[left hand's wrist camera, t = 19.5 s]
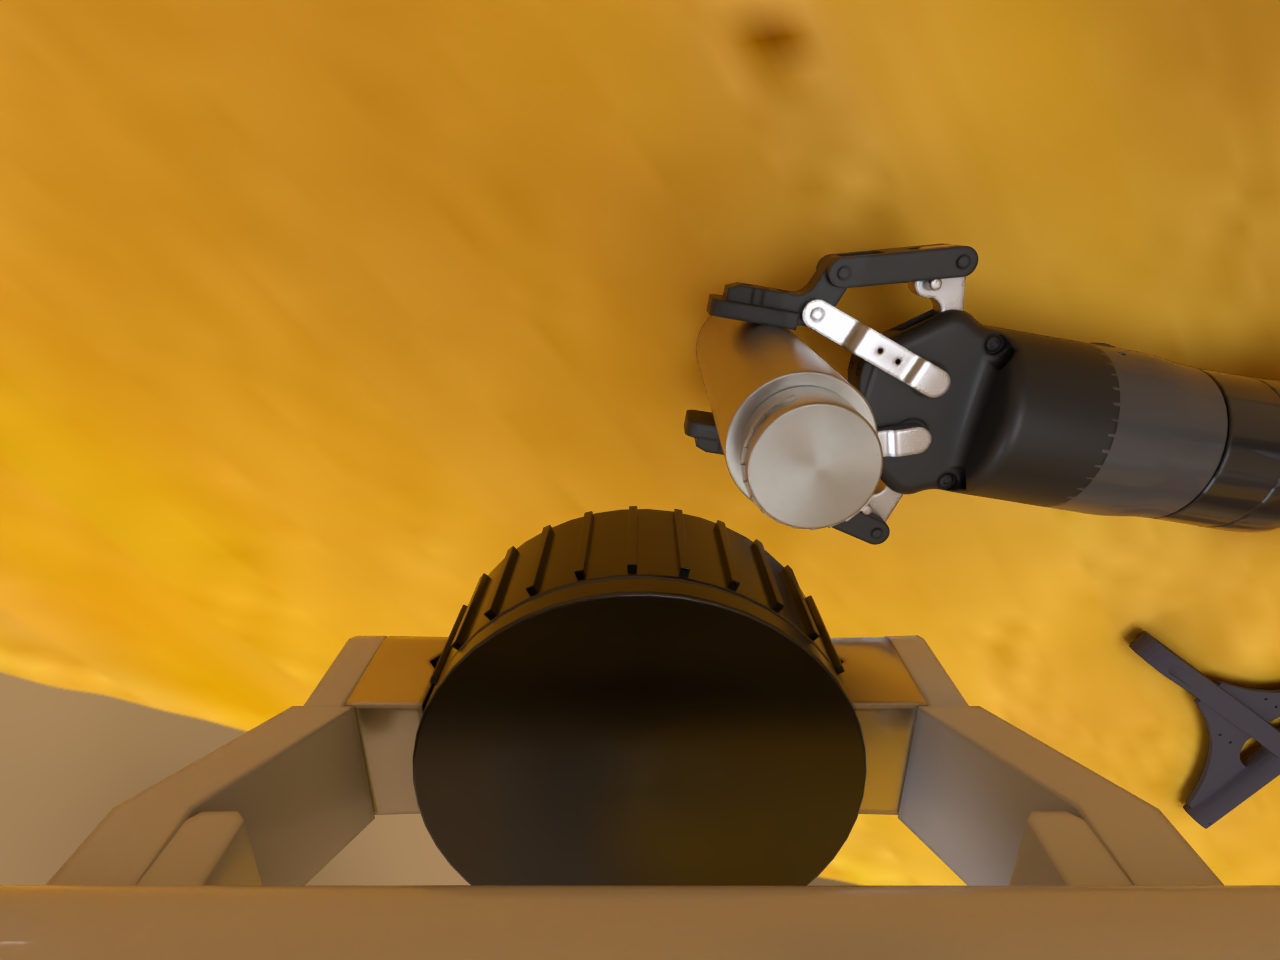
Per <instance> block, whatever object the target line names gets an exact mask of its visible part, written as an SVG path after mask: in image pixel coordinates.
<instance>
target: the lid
mask: <svg viewBox="0 0 1280 960" xmlns="http://www.w3.org/2000/svg"><path fill="white" fill-rule="evenodd" d="M843 672H845V670H844V668H843V665H842V663H841V661H840V659H839V656H838V654H837V652H836V650H835V647H834V645H833V643H832V641H831V638H830V636H829V634H828V631H827V629H826V627H825V625H824V622H823V620H822V618H821V616H820V613H819V611H818V609H817V606H816V604H815V602H814V600H813V598H812V596H808V597H805V595H804V594H803V592H802V590H801V589H800V587H799V585H798V582H797V580H796V578H795V575H794V573H793V571H792V569H791V568H790V567H789V566H788V565H787V566H786V567H783V566H782V565H781V564H780V563H779V562H778V561H776V560H775V559H774V558H773V557H772V556H771V555H770V554H769V553H768V552H767V551H765V550H764V548H763V545H762V543H761V542H760V541H758V540H755V541H754V542H752V541H751V540H749V539H748V538H746V537H744V536H742V535H740V534H738V533H737V532H735V531H733V530H731V529H729V528H727V527H725V523H724V522H721V521H719V520H718V521H717V522H716V523H714V522H711V521H708V520H705V519H703V518H700V517H695V516H691V515H686V514H683V513H682V510H678V509H674V512H672V511H662V510H652V509H637V506H630V507H629V510H616V511H609V512H602V513H596V514H593V512H592V511H591V512H586V513H585V514H584V517H581V518H577V519H573V520H570V521H567V522H565V523H563V524H560V525H558V526H555V527H553V528H552V527H551V526H550V525H548V526H546V527H544V528H543V531H542V533H541V534H539V535H537V536H535V537H534V538H532V539H530V540H528V541H526V542H525V543H524V544H522V545H521V546H520V547H518V548H517V549H516V548H515V547H514V546H513V547H511V548H510V549H509V550H508V551H507V554H506V556H505V558H504V560H503V561H502V562H501V563H500V564H499V565H498V566H497V567H496V568H495V569H494V570H493V571H492V572H491V573H490V574H489V575H486V574H485V573H484V574H483V575H482V576H481V577H480V579H479V581H478V584H477V586H476V588H475V591H474V593H473V595H472V598H471V600H470V603H469V605H468V606H466V605H463V606H462V608H461V610H460V613H459V615H458V617H457V620H456V622H455V624H454V626H453V629H452V631H451V633H450V635H449V638H448V640H447V642H446V644H445V647H444V649H443V651H442V653H441V656H440V658H439V660H438V663H437V665H436V667H435V669H434V672H433V674H432V676H431V678H430V681H429V682H430V683H432V684H435V686H434V688H433V691H432V693H431V695H430V698H429V700H428V702H427V705H426V707H425V709H424V712H423V715H422V718H421V721H420V724H419V727H418V730H417V733H416V738H415V745H414V751H413V783H414V789H415V794H416V799H417V804H418V807H419V810H420V813H421V816H422V818H423V821H424V824H425V826H426V828H427V830H428V832H429V834H430V835H431V837H432V839H433V841H434V843H435V845H436V846H437V848H438V849H439V850H440V852H441V853H442V854H443V856H444V857H445V858H446V860H447V861H448V862H449V864H450V865H451V866H452V867H453V868H454V869H455V870H456V871H457V872H458V873H459V874H460V875H461V876H462V877H463V878H464V879H465V880H466V881H467V882H468V883H469V884H470V885H604V886H807V885H808V884H809V883H811V882H812V881H813V880H814V879H815V878H816V877H818V876H819V874H820V873H821V872H822V871H823V870H824V869H825V868H826V867H827V865H828V864H829V863H830V862H831V861H832V860H833V859H834V857H835V856H836V855H837V853H838V852H839V850H840V849H841V847H842V846H843V844H844V843H845V841H846V840H847V838H848V836H849V834H850V832H851V830H852V827H853V825H854V823H855V821H856V819H857V816H858V813H859V810H860V806H861V803H862V800H863V796H864V789H865V781H866V773H867V768H866V748H865V743H864V739H863V734H862V730H861V725H860V723H859V720H858V718H857V715H856V713H855V710H854V708H853V705H852V703H851V701H850V698H849V696H848V693H847V691H846V689H845V687H844V684H843V682H842V679H841V677H840V675H839V674H841V673H843Z"/></svg>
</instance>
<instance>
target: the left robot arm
mask: <svg viewBox="0 0 1280 960" xmlns="http://www.w3.org/2000/svg"><path fill="white" fill-rule="evenodd" d="M448 638H449V637H411V636H389V637H387V636H355V637H353V638H350V639H349V640H348V641H347V643H346V644H345V646H344V647H343V648H342V650H341V651H340V653H339V654H338V656H337V657H336V659H335V660H334V662H333V663H332V665H331V666H330V668H329V669H328V671H327V672H326V674H325V675H324V676H323V678H322V679H321V681H320V682H319V684H318V685H317V687H316V688H315V690H314V691H313V693H312V694H311V696H310V697H309V699H308V700H307V702H306V703H305V704H304V706H292V707H291V708H289V709H287V710H285V711H284V712H282V713H280V714H278V715H277V716H275V717H273V718H271V719H269V720H268V721H266V722H264V723H262V724H261V725H259V726H257V727H255V728H254V729H252V730H250V731H248V732H247V733H245V734H243V735H241V736H239V737H238V738H236V739H234V740H232V741H231V742H229V743H227V744H225V745H224V746H222V747H220V748H218V749H217V750H215V751H213V752H211V753H209V754H208V755H206V756H204V757H202V758H201V759H199V760H197V761H195V762H194V763H192V764H190V765H188V766H187V767H185V768H183V769H181V770H180V771H178V772H176V773H174V774H172V775H171V776H169V777H167V778H165V779H164V780H162V781H160V782H158V783H157V784H155V785H153V786H151V787H150V788H148V789H146V790H144V791H142V792H141V793H139V794H137V795H136V796H134V797H132V798H130V799H128V800H127V801H125V802H123V803H121V804H120V805H118V806H116V807H114V808H113V809H112V810H111V811H110V812H109V813H108V814H107V816H106V817H105V818H104V819H103V820H102V821H101V822H100V824H99V825H98V826H97V827H96V828H95V829H94V830H93V832H92V833H91V834H90V835H89V836H88V837H87V839H85V841H84V842H83V843H82V844H81V845H80V846H79V847H78V849H77V850H76V851H75V852H74V853H73V854H72V856H71V857H70V858H69V859H68V860H67V861H66V862H65V863H64V865H63V866H62V867H61V868H60V869H59V870H58V871H57V873H56V874H55V875H54V876H53V877H52V878H51V879H50V880H49V882H48V883H47V884H46V885H0V960H1280V886H1224V884H1223V883H1222V882H1221V881H1220V880H1219V879H1218V877H1217V876H1216V875H1215V874H1214V873H1213V872H1212V870H1211V869H1210V868H1209V867H1208V866H1207V865H1206V863H1205V862H1204V861H1203V860H1202V859H1201V858H1200V856H1199V855H1198V854H1197V853H1196V852H1195V851H1194V849H1193V848H1192V847H1191V846H1190V845H1189V844H1188V842H1187V841H1186V840H1185V839H1184V838H1183V837H1182V836H1181V834H1180V833H1179V832H1178V831H1177V830H1176V829H1175V827H1174V826H1173V825H1172V824H1171V823H1170V822H1169V820H1168V819H1167V818H1166V817H1165V816H1164V815H1163V813H1162V812H1161V811H1160V810H1159V809H1158V808H1156V807H1154V806H1152V805H1151V804H1149V803H1147V802H1145V801H1144V800H1142V799H1140V798H1138V797H1137V796H1135V795H1133V794H1131V793H1130V792H1128V791H1126V790H1124V789H1123V788H1121V787H1119V786H1118V785H1116V784H1114V783H1112V782H1111V781H1109V780H1107V779H1105V778H1104V777H1102V776H1100V775H1098V774H1097V773H1095V772H1093V771H1091V770H1090V769H1088V768H1086V767H1084V766H1083V765H1081V764H1079V763H1077V762H1076V761H1074V760H1072V759H1071V758H1069V757H1067V756H1065V755H1064V754H1062V753H1060V752H1058V751H1057V750H1055V749H1053V748H1051V747H1050V746H1048V745H1046V744H1044V743H1043V742H1041V741H1039V740H1037V739H1036V738H1034V737H1032V736H1031V735H1029V734H1027V733H1025V732H1024V731H1022V730H1020V729H1018V728H1017V727H1015V726H1013V725H1011V724H1010V723H1008V722H1006V721H1004V720H1003V719H1001V718H999V717H997V716H996V715H994V714H992V713H990V712H989V711H987V710H985V709H984V708H982V707H980V706H969V705H968V704H967V702H966V701H965V699H964V698H963V696H962V695H961V693H960V692H959V690H958V689H957V687H956V686H955V684H954V683H953V681H952V680H951V678H950V677H949V675H948V674H947V673H946V671H945V670H944V668H943V667H942V665H941V664H940V662H939V661H938V659H937V658H936V656H935V655H934V653H933V652H932V650H931V649H930V647H929V646H928V644H927V643H926V641H925V640H924V639H923V638H922V637H920V636H918V635H916V636H887V637H867V638H831V641H832V643H833V645H834V647H835V650H836V652H837V654H838V656H839V659H840V661H841V663H842V665H843V668H844V670H845V672H843V673H841V674H839V675H840V677H841V679H842V682H843V684H844V687H845V689H846V691H847V693H848V696H849V698H850V701H851V703H852V705H853V708H854V710H855V713H856V715H857V718H858V720H859V723H860V725H861V730H862V734H863V739H864V743H865V748H866V768H867V773H866V781H865V789H864V796H863V800H862V803H861V806H860V810H859V813H858V814H886V815H898V818H899V819H900V820H901V821H902V822H903V823H904V824H905V825H906V826H907V827H908V828H909V829H910V830H911V831H912V832H913V833H914V834H915V835H916V836H917V837H918V838H919V839H920V840H921V841H922V842H923V843H925V844H926V845H927V846H928V847H929V848H930V849H931V850H932V851H933V852H934V853H935V854H936V855H937V856H938V857H939V858H940V859H941V860H942V861H943V862H944V863H945V864H946V865H947V866H948V867H949V868H950V869H951V870H952V871H953V872H954V873H955V874H957V875H958V876H959V877H960V878H961V879H962V880H963V881H964V882H965V883H966V884H967V885H968V886H604V885H470V886H468V885H466V886H465V885H464V886H462V885H460V886H457V885H456V886H305V885H306V884H307V883H308V882H309V881H310V880H311V879H312V878H313V877H314V876H315V875H316V874H317V873H318V872H319V871H320V870H321V869H322V868H323V867H324V866H326V865H327V864H328V863H329V862H330V861H331V860H332V859H333V858H334V857H335V856H336V855H337V854H338V853H339V852H340V851H341V850H342V849H343V848H344V847H345V846H346V845H347V844H349V843H350V842H351V841H352V840H353V839H354V838H355V837H356V836H357V835H358V834H359V833H360V832H361V831H362V830H363V829H364V828H365V827H366V826H367V825H368V824H369V823H370V822H372V821H373V820H374V818H375V816H374V815H385V814H421V813H420V810H419V807H418V804H417V799H416V794H415V789H414V783H413V751H414V745H415V738H416V733H417V730H418V727H419V724H420V721H421V718H422V715H423V712H424V709H425V707H426V705H427V702H428V700H429V698H430V695H431V693H432V691H433V688H434V686H435V684H432V683H430V682H429V681H430V678H431V676H432V674H433V672H434V669H435V667H436V665H437V663H438V660H439V658H440V656H441V653H442V651H443V649H444V647H445V644H446V642H447V640H448Z"/></svg>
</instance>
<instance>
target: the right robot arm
mask: <svg viewBox="0 0 1280 960" xmlns="http://www.w3.org/2000/svg"><path fill="white" fill-rule="evenodd" d="M977 264H978V255H977V252H976V251H975V250H974V249H973V248H971V247H969V246H960V245H951V244H933V245H923V246H912V247H902V248H891V249H881V250H871V251H860V252H850V253H840V254H830V255H826V256H824V257H823V258H821V259H820V260H819V262H818V264H817V267H816V272H815V273H814V275H813V276H812V278H811V280H810V281H809V283H808V284H807V285H806V286H805V287H804V288H802V289H800V290H798V291H786V290H780V289H774V288H768V287H763V286H757V285H751V284H745V283H739V282H736V283H731V284H727V285H725V288H724V293H723V296H722V295H716V294H710V295H709V300H708V305H707V312H708V314H710V315H713V316H717V317H722V318H728V319H734V320H740V321H745V322H751V323H757V324H763V325H770V326H776V327H781V328H787V329H792V330H796V327H797V325H802V326H808V327H809V328H811V329H813V330H815V331H816V332H818V333H820V334H822V335H823V336H825V337H827V338H829V339H830V340H832V341H834V342H835V343H837V344H839V345H841V346H842V347H844V348H846V349H847V350H849V351H851V352H852V356H851V359H850V363H849V367H848V382H849V383H850V384H852V385H853V386H854V387H855V388H856V389H857V390H858V391H859V392H860V393H861V394H862V395H863V396H864V397H865V399H866V400H867V402H868V403H869V405H870V407H871V409H872V411H873V413H874V416H875V420H876V423H877V430H878V438H879V440H880V443H881V446H882V452H883V468H882V474H881V478H880V479H881V480H880V481H879V483H878V486H877V488H876V490H875V492H874V493H873V496H874V498H873V499H872V501H871V502H870V503H869V504H868V505H867V507H866V508H865V509H864V510H863V511H860V512H859V513H858V514H856V515H855V516H854V517H852V518H851V519H850V520H848V521H847V522H846V521H844V522H842V523H839V524H837V525H835V526H833V527H832V528H835V529H837V530H839V531H842V532H844V533H846V534H849V535H851V536H854V537H856V538H858V539H861V540H863V541H865V542H868V543H870V544H880V543H882V542H884V541H885V540H886V539H887V538H888V536H889V527H888V526H887V524H886V521H887V519H888V517H889V516H890V514H891V513H892V511H893V509H894V508H895V506H896V505H897V503H898V502H899V500H900V498H901V497H902V495H903V494H913V493H916V492H919V491H923V490H927V489H941V490H946V491H951V492H956V493H962V494H968V495H975V496H981V497H987V498H994V499H1000V500H1006V501H1012V502H1018V503H1024V504H1030V505H1036V506H1042V507H1049V508H1055V509H1061V510H1067V511H1074V512H1080V513H1086V514H1093V515H1103V516H1136V517H1145V518H1154V519H1160V520H1166V521H1172V522H1178V523H1184V524H1191V525H1197V526H1201V527H1207V528H1213V529H1219V530H1227V531H1235V532H1263V531H1270V530H1274V529H1278V528H1280V380H1267V379H1260V378H1254V377H1246V376H1240V375H1234V374H1228V373H1222V372H1216V371H1211V370H1205V369H1199V368H1193V367H1190V366H1185V365H1181V364H1177V363H1174V362H1171V361H1168V360H1165V359H1162V358H1160V357H1156V356H1153V355H1150V354H1146V353H1141V352H1136V351H1130V350H1125V349H1119V348H1116V347H1114V346H1111V345H1109V344H1104V343H1084V342H1078V341H1072V340H1066V339H1060V338H1054V337H1049V336H1043V335H1037V334H1031V333H1025V332H1020V331H1014V330H1008V329H1002V328H996V327H991V326H985V325H982V324H980V323H979V322H978V321H976V320H975V319H974V318H973V317H972V316H971V315H970V314H968V313H967V312H965V311H963V303H964V289H965V276H968V275H969V274H971V273H972V272H973V271H974V270H975V268H976V266H977ZM905 282H908V287H909V289H910V291H911V292H912V293H914V294H916V295H919V296H922V297H926V298H929V299H930V300H931V301H932V303H933V309H932V310H930V311H928V312H926V313H924V314H921V315H919V316H917V317H915V318H913V319H911V320H909V321H907V322H904V323H902V324H900V325H898V326H896V327H894V328H892V329H890V330H887V331H885V332H883V333H881V334H880V333H879V332H877V331H875V330H873V329H872V328H870V327H868V326H866V325H865V324H863V323H861V322H859V321H858V320H856V319H854V318H853V317H851V316H849V315H847V314H846V313H844V312H842V311H841V310H839V309H837V308H835V306H836V304H837V303H838V301H839V300H840V298H841V297H842V295H843V294H844V292H845V291H846V289H847V288H852V287H862V286H873V285H884V284H894V283H905ZM684 429H685V434H686V435H688V436H690V437H694V438H695V443H696V446H697V447H699V448H700V449H702V450H704V451H705V452H710V453H716V454H723V455H724V452H723V449H722V445H721V442H720V438H719V435H718V431H717V428H716V424H715V420H714V417H713V413H710V412H704V411H697V410H687V412H686V417H685V423H684Z"/></svg>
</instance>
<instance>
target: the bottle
mask: <svg viewBox="0 0 1280 960" xmlns="http://www.w3.org/2000/svg"><path fill="white" fill-rule="evenodd" d="M696 353H697V359H698V363H699V367H700V371H701V374H702V378H703V381H704V385H705V388H706V392H707V395H708V399H709V403H710V406H711V410H712V413H713V417H714V420H715V424H716V428H717V431H718V435H719V438H720V442H721V445H722V449H723V452H724V456H725V460H726V463H727V467H728V469H729V472H730V475H731V477H732V479H733V481H734V482H735V484H736V485H737V487H738V488H739V489H740V491H741V492H742V493H743V494H744V495H745V496H746V497H747V498H749V499H750V500H751V501H752V502H754V503H755V504H756V505H757V506H758V508H759V509H760V510H761V511H762V512H763V513H764V514H766V515H767V516H769V517H771V518H772V519H774V520H775V521H776V522H778V523H781V524H785V525H788V526H791V527H792V528H802V529H810V530H814V529H819V528H825V527H829V528H830V527H833V526H835V525H837V524H839V523H842V522H844V521H846V522H847V521H848V520H850V519H851V518H852V517H854V516H855V515H856V514H858V513H859V512H860V511H863V510H864V509H865V508H866V507H867V505H868V504H869V503H870V502H871V501H872V499H873V498H874V496H873V493H874V492H875V490H876V488H877V486H878V483H879V481H880V478H881V474H882V468H883V452H882V446H881V443H880V440H879V438H878V430H877V423H876V420H875V416H874V413H873V411H872V409H871V407H870V405H869V403H868V402H867V400H866V399H865V397H864V396H863V395H862V394H861V393H860V392H859V391H858V390H857V389H856V388H855V387H854V386H853V385H852V384H850V383H849V382H848V381H847V380H846V379H845V378H844V377H842V376H841V375H840V374H839V373H838V372H837V371H836V370H834V369H833V368H832V367H831V366H830V365H829V364H828V363H826V362H825V361H824V360H823V359H822V358H821V357H820V356H818V355H817V354H816V353H815V352H814V351H813V350H812V349H810V348H809V347H808V346H807V345H806V344H805V343H804V342H802V341H801V340H800V339H799V338H798V337H797V336H796V335H795V334H793V333H792V332H791V331H790V330H789V329H787V328H781V327H776V326H770V325H763V324H757V323H751V322H745V321H740V320H734V319H728V318H722V317H717V316H713V315H711V316H710V317H709V318H708V320H707V321H706V322H705V323H704V325H703V327H702V328H701V331H700V333H699V336H698V339H697V345H696Z"/></svg>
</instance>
